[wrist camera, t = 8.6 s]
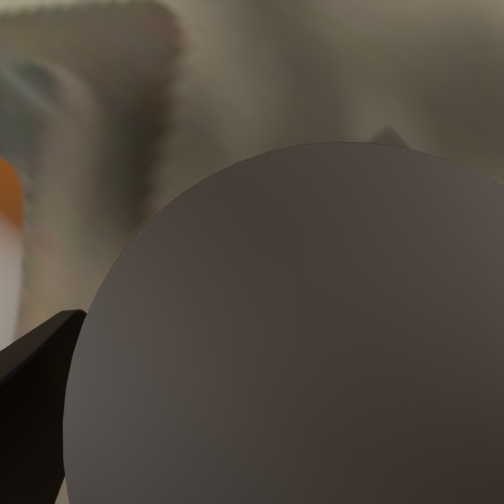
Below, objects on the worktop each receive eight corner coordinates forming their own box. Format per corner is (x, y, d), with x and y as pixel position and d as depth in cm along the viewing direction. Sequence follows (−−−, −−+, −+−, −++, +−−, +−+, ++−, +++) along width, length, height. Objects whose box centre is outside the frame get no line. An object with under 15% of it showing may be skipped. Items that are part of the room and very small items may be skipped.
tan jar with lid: (360, 496, 14) (373, 971, 3) (236, 375, 15) (-30, 426, 5) (472, 363, 14) (838, 400, 3) (337, 257, 15) (294, 51, 5)
